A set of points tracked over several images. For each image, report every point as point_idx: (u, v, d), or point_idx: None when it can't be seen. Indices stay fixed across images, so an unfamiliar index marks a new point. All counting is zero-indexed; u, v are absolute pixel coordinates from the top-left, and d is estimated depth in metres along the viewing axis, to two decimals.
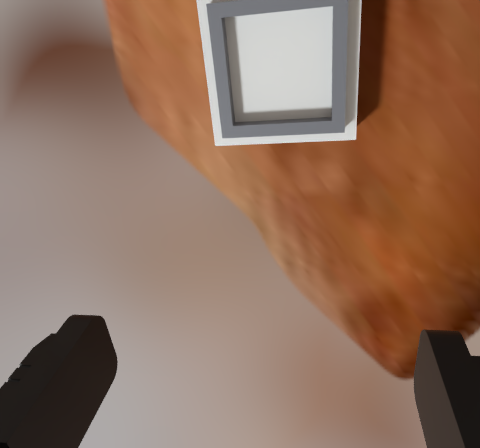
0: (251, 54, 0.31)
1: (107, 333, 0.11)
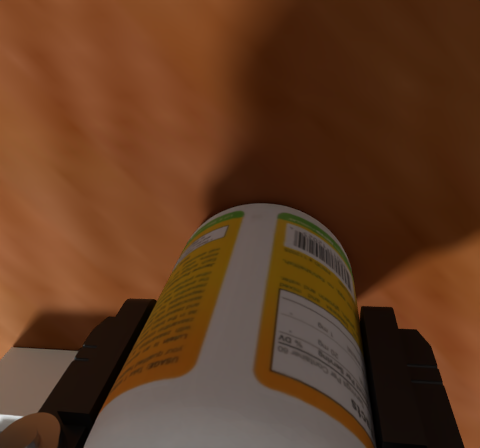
0: None
1: None
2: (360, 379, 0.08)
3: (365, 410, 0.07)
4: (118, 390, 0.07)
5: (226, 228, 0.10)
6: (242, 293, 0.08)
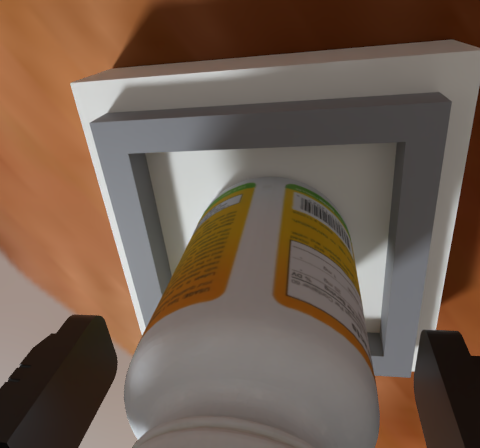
0: None
1: (107, 333, 0.11)
2: (359, 313, 0.09)
3: (363, 335, 0.09)
4: (158, 317, 0.08)
5: (240, 196, 0.12)
6: (259, 242, 0.09)
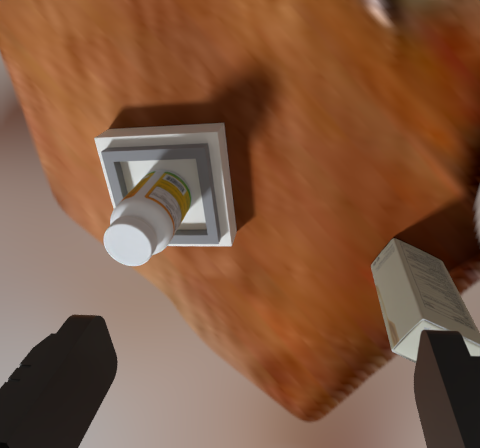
0: None
1: (107, 333, 0.11)
2: (172, 205, 0.34)
3: (170, 209, 0.34)
4: None
5: (149, 175, 0.37)
6: (147, 186, 0.35)
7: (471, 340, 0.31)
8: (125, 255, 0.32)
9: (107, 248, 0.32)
